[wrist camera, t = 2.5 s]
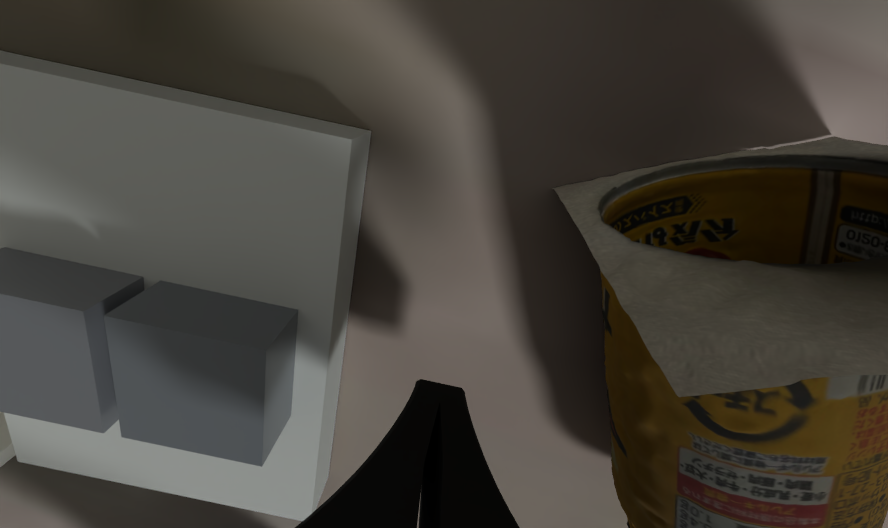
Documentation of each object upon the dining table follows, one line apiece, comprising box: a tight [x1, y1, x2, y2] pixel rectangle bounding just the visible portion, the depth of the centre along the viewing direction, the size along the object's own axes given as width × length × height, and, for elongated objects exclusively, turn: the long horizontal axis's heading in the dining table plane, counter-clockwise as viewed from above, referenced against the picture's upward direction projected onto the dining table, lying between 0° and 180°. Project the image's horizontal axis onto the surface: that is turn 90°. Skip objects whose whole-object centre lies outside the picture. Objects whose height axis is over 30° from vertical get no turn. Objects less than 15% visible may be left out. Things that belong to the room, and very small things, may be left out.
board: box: [0, 50, 371, 521], centre depth 14 cm, size 14×11×2 cm
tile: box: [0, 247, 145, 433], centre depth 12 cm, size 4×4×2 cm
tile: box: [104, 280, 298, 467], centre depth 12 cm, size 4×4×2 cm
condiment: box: [552, 137, 888, 528], centre depth 10 cm, size 7×8×12 cm
